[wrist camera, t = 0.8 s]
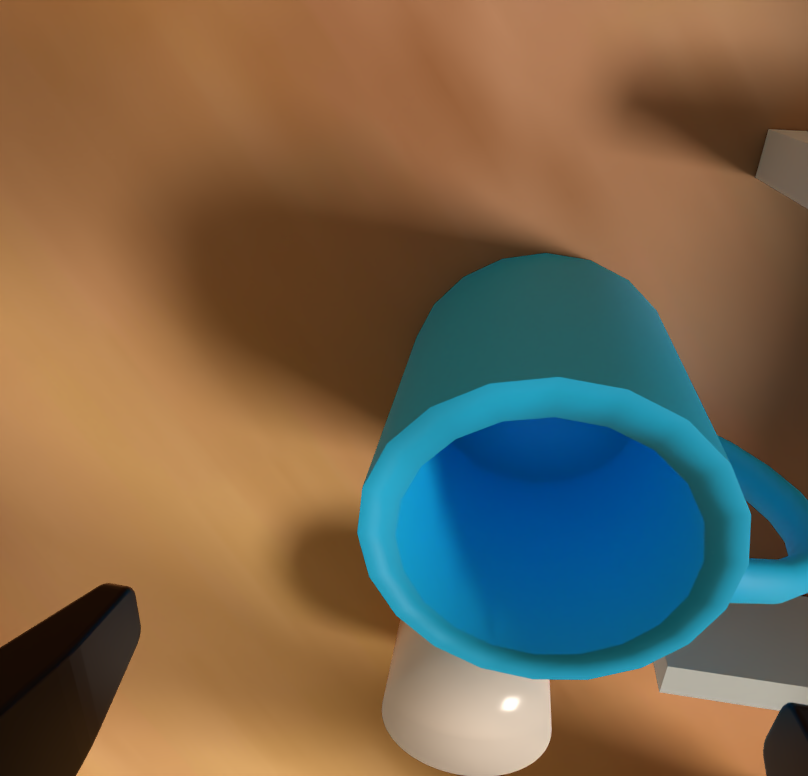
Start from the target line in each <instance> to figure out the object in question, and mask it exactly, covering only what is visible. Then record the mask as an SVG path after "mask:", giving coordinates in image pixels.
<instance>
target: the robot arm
mask: <svg viewBox="0 0 808 776" xmlns="http://www.w3.org/2000/svg"><path fill="white" fill-rule="evenodd" d="M140 632H141V625H140V619H139V613H138V607H137V602H136V596H135V592H134V591H133V589H132V588H131V587H128V586H123V585H117V584H111V583H106V584H102V585H100V586H98V587H96V588H95V589H93V590H92V591H90V592H88V593H87V594H85V595H84V596H82V597H80V598H79V599H77V600H76V601H74V602H72V603H71V604H69V605H68V606H66V607H64V608H63V609H61V610H60V611H58V612H56V613H55V614H53V615H52V616H50V617H48V618H47V619H45V620H44V621H42V622H40V623H39V624H37V625H36V626H34V627H32V628H31V629H29V630H28V631H26V632H24V633H23V634H21V635H20V636H18V637H16V638H15V639H13V640H12V641H10V642H8V643H7V644H5V645H4V646H2V647H0V776H76V775H77V773H78V771H79V769H80V768H81V766H82V764H83V762H84V760H85V758H86V756H87V755H88V753H89V751H90V749H91V747H92V745H93V743H94V741H95V739H96V737H97V734H98V732H99V730H100V728H101V726H102V723H103V721H104V719H105V717H106V714H107V712H108V710H109V707H110V705H111V703H112V701H113V698H114V696H115V694H116V692H117V689H118V687H119V685H120V682H121V680H122V678H123V676H124V673H125V671H126V669H127V666H128V664H129V662H130V660H131V657H132V655H133V653H134V651H135V648H136V646H137V643H138V641H139V637H140ZM763 756H764V763H765V769H766V775H767V776H808V705H804V704H799V703H793V702H789V703H787V704H785V705H783V707H782V708H781V710H780V712H779V714H778V716H777V718H776V720H775V722H774V723H773V725H772V727H771V729H770V731H769V733H768V735H767V737H766V739H765V742H764V749H763Z"/></svg>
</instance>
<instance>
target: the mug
mask: <svg viewBox="0 0 808 776" xmlns="http://www.w3.org/2000/svg"><path fill="white" fill-rule="evenodd" d="M746 501H747V502H748V503H749V504H751V505H752V506H753V507H754V508H755V509H756V510H757V511H758V512H759V513H761V514H762V515H763V516H764V517H765V518H766V519H767V520H768V521H769V522H770V523H771V524H772V526H773V527H774V528H775V530H776V531H777V533H778V534H779V535H780V537H781V538H782V539H783V541H784V542H785V546H786V549H787V553H788V556H787V557H784V558H781V559H778V560H776V559H757V558H749V549H750V529H751V513H750V510H749V508H748V505H747V503H746ZM357 534H358V538H359V541H360V545H361V549H362V552H363V556H364V560H365V563H366V567H367V571H368V574H369V577H370V579H371V580H372V582H373V583H374V584H375V586H376V587H377V589H378V590H379V592H380V593H381V595H382V596H383V597H384V599H385V600H386V602H387V603H388V605H389V606H390V608H391V609H392V610H393V612H394V613H395V615H396V616H397V617H399V618H400V619H401V620H402V621H404V622H405V623H406V624H407V625H409V626H410V627H411V628H412V629H413V630H415V631H416V632H417V633H418V634H420V635H421V636H422V637H423V638H425V639H426V640H427V641H428V642H430V643H431V644H432V645H433V646H435V647H437V648H439V649H441V650H443V651H446V652H448V653H450V654H452V655H454V656H456V657H458V658H461V659H463V660H465V661H467V662H469V663H471V664H473V665H476V666H478V667H480V668H483V669H488V670H493V671H497V672H502V673H506V674H511V675H515V676H520V677H524V678H529V679H549V680H589V679H593V678H598V677H602V676H607V675H611V674H616V673H621V672H625V671H630V670H634V669H639V668H642V667H644V666H646V665H648V664H650V663H652V662H654V661H656V660H658V659H660V658H662V657H664V656H666V655H668V654H670V653H672V652H674V651H676V650H678V649H680V648H682V647H684V646H687V645H689V644H690V643H691V642H692V641H693V640H694V639H695V638H696V637H697V636H698V635H699V634H700V633H702V632H703V631H704V630H705V629H706V628H707V627H708V626H709V625H710V624H711V623H712V622H713V621H714V620H715V619H717V618H718V617H719V616H720V615H721V614H722V613H723V612H724V611H725V610H726V609H727V607H728V605H729V603H747V604H779V603H783V602H785V601H788V600H791V599H793V598H796V597H798V596H801V595H803V594H806V593H808V500H807V499H806V498H805V496H804V495H803V494H802V493H801V492H800V491H799V490H798V489H797V488H795V487H794V486H793V485H792V484H790V483H789V482H788V481H787V480H786V479H784V478H783V477H782V476H781V475H779V474H778V473H777V472H776V471H775V470H773V469H772V468H771V467H770V466H768V465H767V464H765V463H764V462H762V461H760V460H759V459H757V458H756V457H754V456H752V455H751V454H749V453H748V452H746V451H745V450H743V449H741V448H740V447H738V446H737V445H735V444H733V443H732V442H730V441H728V440H726V439H724V438H722V437H720V436H718V435H717V434H716V432H715V430H714V428H713V426H712V424H711V422H710V420H709V418H708V416H707V414H706V412H705V409H704V407H703V405H702V403H701V401H700V399H699V397H698V395H697V393H696V391H695V389H694V387H693V385H692V383H691V381H690V379H689V376H688V374H687V372H686V370H685V368H684V366H683V364H682V362H681V360H680V358H679V356H678V354H677V352H676V350H675V348H674V346H673V344H672V341H671V339H670V337H669V335H668V333H667V331H666V329H665V327H664V325H663V323H662V321H661V319H660V317H659V315H658V313H657V311H656V309H655V308H654V307H653V306H652V305H651V304H650V303H649V302H648V301H647V300H646V299H645V298H644V296H643V295H642V294H641V293H640V292H639V291H638V290H637V289H636V288H635V287H634V286H633V285H632V284H631V283H630V281H629V280H627V279H625V278H623V277H621V276H619V275H617V274H616V273H614V272H612V271H610V270H608V269H606V268H604V267H602V266H600V265H598V264H596V263H594V262H593V261H591V260H586V259H580V258H574V257H568V256H562V255H556V254H550V253H541V254H534V255H527V256H519V257H512V258H505V259H501V260H499V261H496V262H494V263H492V264H490V265H488V266H486V267H484V268H482V269H479V270H477V271H475V272H473V273H471V274H469V275H467V276H465V277H463V278H462V279H461V280H460V281H459V282H458V283H456V284H455V285H454V286H453V287H452V288H451V289H450V290H449V291H448V292H447V293H446V294H445V295H444V296H443V297H442V298H440V299H439V300H438V301H437V302H436V303H435V304H434V306H433V307H432V309H431V311H430V313H429V315H428V317H427V319H426V321H425V322H424V324H423V326H422V328H421V330H420V332H419V334H418V336H417V338H416V340H415V343H414V346H413V349H412V351H411V354H410V357H409V360H408V363H407V365H406V368H405V371H404V374H403V376H402V379H401V382H400V385H399V388H398V390H397V393H396V396H395V399H394V401H393V404H392V407H391V410H390V413H389V415H388V418H387V421H386V424H385V426H384V429H383V432H382V435H381V438H380V440H379V443H378V446H377V449H376V451H375V454H374V457H373V460H372V463H371V465H370V468H369V471H368V474H367V476H366V479H365V482H364V485H363V488H362V497H361V505H360V514H359V522H358V531H357Z"/></svg>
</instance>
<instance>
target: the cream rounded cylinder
mask: <svg viewBox="0 0 808 776" xmlns="http://www.w3.org/2000/svg"><path fill="white" fill-rule="evenodd" d="M382 718H383V721H384V725H385V727H386V729H387V731H388V733H389V734H390V736H391V737H392V739H393V740H394V741H395V742H396V743H397V744H398V745H399V746H400V747H401V748H402V749H403V750H404V751H405V752H407V753H408V754H409V755H411V756H412V757H414V758H415V759H417V760H419V761H420V762H422V763H424V764H426V765H428V766H431V767H433V768H436V769H439V770H442V771H445V772H448V773H453V774H458V775H464V776H498V775H504V774H509V773H512V772H515V771H518V770H520V769H523V768H525V767H527V766H528V765H530V764H532V763H533V762H535V761H536V760H537V759H538V758H539V757H540V756H541V755H542V754H543V753H544V751H545V750H546V748H547V746H548V745H549V742H550V739H551V731H552V728H551V702H550V680H549V679H529V678H524V677H520V676H515V675H511V674H506V673H502V672H497V671H493V670H488V669H483V668H480V667H478V666H476V665H473V664H471V663H469V662H467V661H465V660H463V659H461V658H458V657H456V656H454V655H452V654H450V653H448V652H446V651H443V650H441V649H439V648H437V647H435V646H433V645H432V644H431V643H430V642H428V641H427V640H426V639H425V638H423V637H422V636H421V635H420V634H418V633H417V632H416V631H415V630H413V629H412V628H411V627H410V626H409V625H407V624H406V623H405V622H404V621H402V620H401V619H400V624H399V628H398V633H397V638H396V642H395V647H394V652H393V656H392V661H391V666H390V670H389V675H388V680H387V684H386V689H385V694H384V698H383V703H382Z"/></svg>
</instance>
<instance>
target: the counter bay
mask: <svg viewBox="0 0 808 776" xmlns="http://www.w3.org/2000/svg"><path fill="white" fill-rule="evenodd" d="M755 178H757V179H759V180H760V181H762V182H764V183H765V184H767V185H769V186H770V187H772V188H774V189H775V190H777V191H779V192H780V193H782V194H784V195H785V196H787V197H789V198H790V199H792V200H793V201H795V202H797V203H798V204H800V205H802V206H803V207H805V208H807V209H808V131H796V130H777V129H768V133H767V136H766V140H765V144H764V147H763V151H762V155H761V158H760V162H759V166H758V170H757V173H756V177H755ZM653 663H654V668H655V673H656V678H657V683H658V688H659V692H662V693H668V694H674V695H681V696H687V697H694V698H700V699H707V700H713V701H720V702H726V703H732V704H739V705H745V706H752V707H758V708H765V709H771V710H778V711H780V710H781V708H782V707H783V705H785V704H787V703H789V702H793V703H799V704H804V705H808V597H805V596H798V597H796V598H793V599H791V600H788V601H785V602H783V603H779V604H747V603H729V605H728V607H727V609H726V610H725V611H724V612H723V613H722V614H721V615H720V616H719V617H718V618H717V619H715V620H714V621H713V622H712V623H711V624H710V625H709V626H708V627H707V628H706V629H705V630H704V631H703V632H702V633H700V634H699V635H698V636H697V637H696V638H695V639H694V640H693V641H692V642H691V643H690V644H689V645H687V646H684V647H682V648H680V649H678V650H676V651H674V652H672V653H670V654H668V655H666V656H664V657H662V658H660V659H658V660H656V661H654V662H653Z"/></svg>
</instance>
